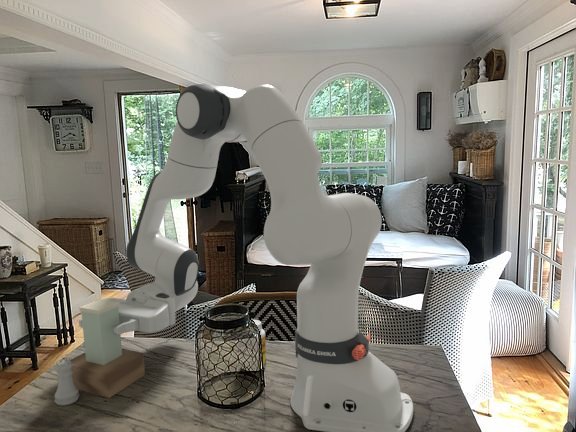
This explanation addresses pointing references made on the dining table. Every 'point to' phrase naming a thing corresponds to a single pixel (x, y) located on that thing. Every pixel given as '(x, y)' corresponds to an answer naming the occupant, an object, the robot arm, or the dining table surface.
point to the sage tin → (101, 331)
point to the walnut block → (108, 373)
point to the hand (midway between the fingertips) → (97, 327)
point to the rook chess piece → (65, 384)
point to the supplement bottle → (262, 340)
